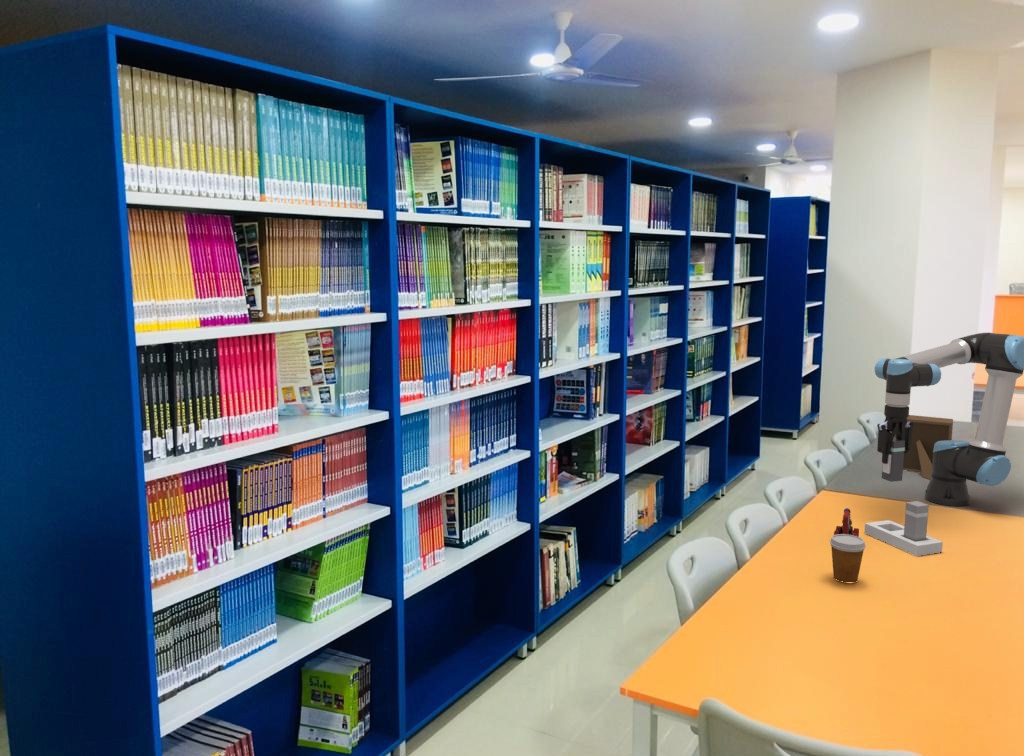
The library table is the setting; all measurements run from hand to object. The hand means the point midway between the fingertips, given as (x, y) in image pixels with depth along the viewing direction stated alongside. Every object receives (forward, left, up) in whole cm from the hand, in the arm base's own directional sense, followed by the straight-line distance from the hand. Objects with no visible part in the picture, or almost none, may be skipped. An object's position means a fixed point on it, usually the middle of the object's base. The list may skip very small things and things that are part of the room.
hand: (892, 471), depth 269 cm
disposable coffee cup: (+48, +34, -19) cm, 61 cm away
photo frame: (-60, -46, -19) cm, 78 cm away
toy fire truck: (+26, +9, -19) cm, 33 cm away
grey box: (0, 0, -3) cm, 3 cm away
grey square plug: (+10, +21, -19) cm, 30 cm away
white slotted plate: (+10, +16, -19) cm, 26 cm away
